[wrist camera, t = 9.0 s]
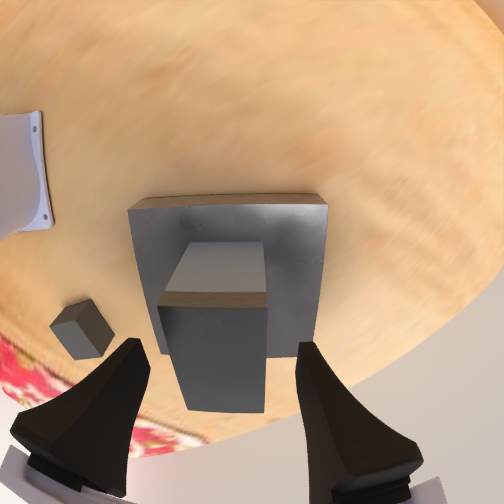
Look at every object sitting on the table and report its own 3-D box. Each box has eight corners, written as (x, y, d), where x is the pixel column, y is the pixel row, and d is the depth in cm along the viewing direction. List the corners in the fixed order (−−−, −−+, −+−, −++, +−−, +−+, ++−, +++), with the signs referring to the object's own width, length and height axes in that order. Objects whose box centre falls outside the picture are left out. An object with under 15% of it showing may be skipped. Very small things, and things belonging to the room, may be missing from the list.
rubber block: (65, 307, 21) (49, 326, 18) (91, 299, 20) (74, 319, 17) (87, 340, 22) (74, 360, 19) (114, 334, 22) (102, 357, 19)
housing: (203, 337, 18) (188, 409, 12) (190, 242, 15) (156, 305, 9) (262, 338, 18) (264, 413, 12) (262, 241, 15) (267, 307, 9)
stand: (143, 198, 16) (127, 209, 14) (318, 194, 16) (328, 204, 14) (168, 332, 21) (161, 354, 19) (305, 333, 21) (310, 356, 18)
